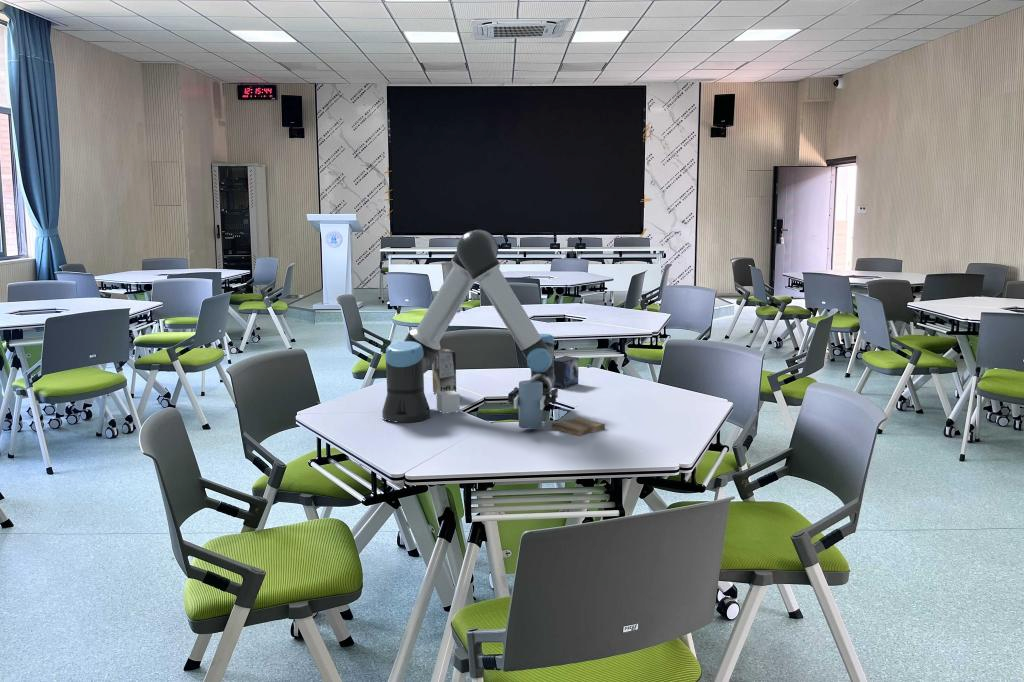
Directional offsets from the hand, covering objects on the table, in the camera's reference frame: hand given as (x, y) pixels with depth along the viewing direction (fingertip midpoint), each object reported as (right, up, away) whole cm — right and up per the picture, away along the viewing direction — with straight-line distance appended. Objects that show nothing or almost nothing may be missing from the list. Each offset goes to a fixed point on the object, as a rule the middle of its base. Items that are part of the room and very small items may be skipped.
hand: (528, 404), depth 234 cm
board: (+15, -8, +8) cm, 19 cm away
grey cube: (-26, -5, +32) cm, 41 cm away
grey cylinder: (+1, -7, +6) cm, 9 cm away
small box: (+15, +1, +69) cm, 71 cm away
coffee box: (-29, -1, +56) cm, 62 cm away
